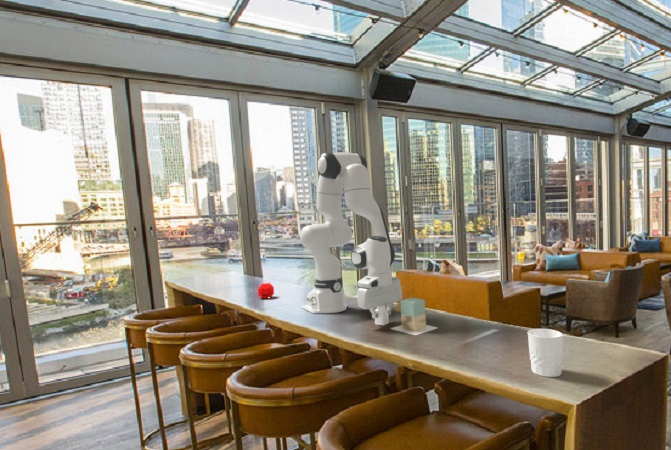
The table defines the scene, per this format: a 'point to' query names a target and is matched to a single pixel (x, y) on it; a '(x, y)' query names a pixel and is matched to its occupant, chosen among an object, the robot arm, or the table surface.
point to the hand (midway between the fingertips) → (381, 316)
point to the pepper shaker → (382, 315)
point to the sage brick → (412, 307)
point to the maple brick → (413, 322)
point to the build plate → (428, 328)
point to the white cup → (545, 352)
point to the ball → (265, 290)
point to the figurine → (399, 305)
